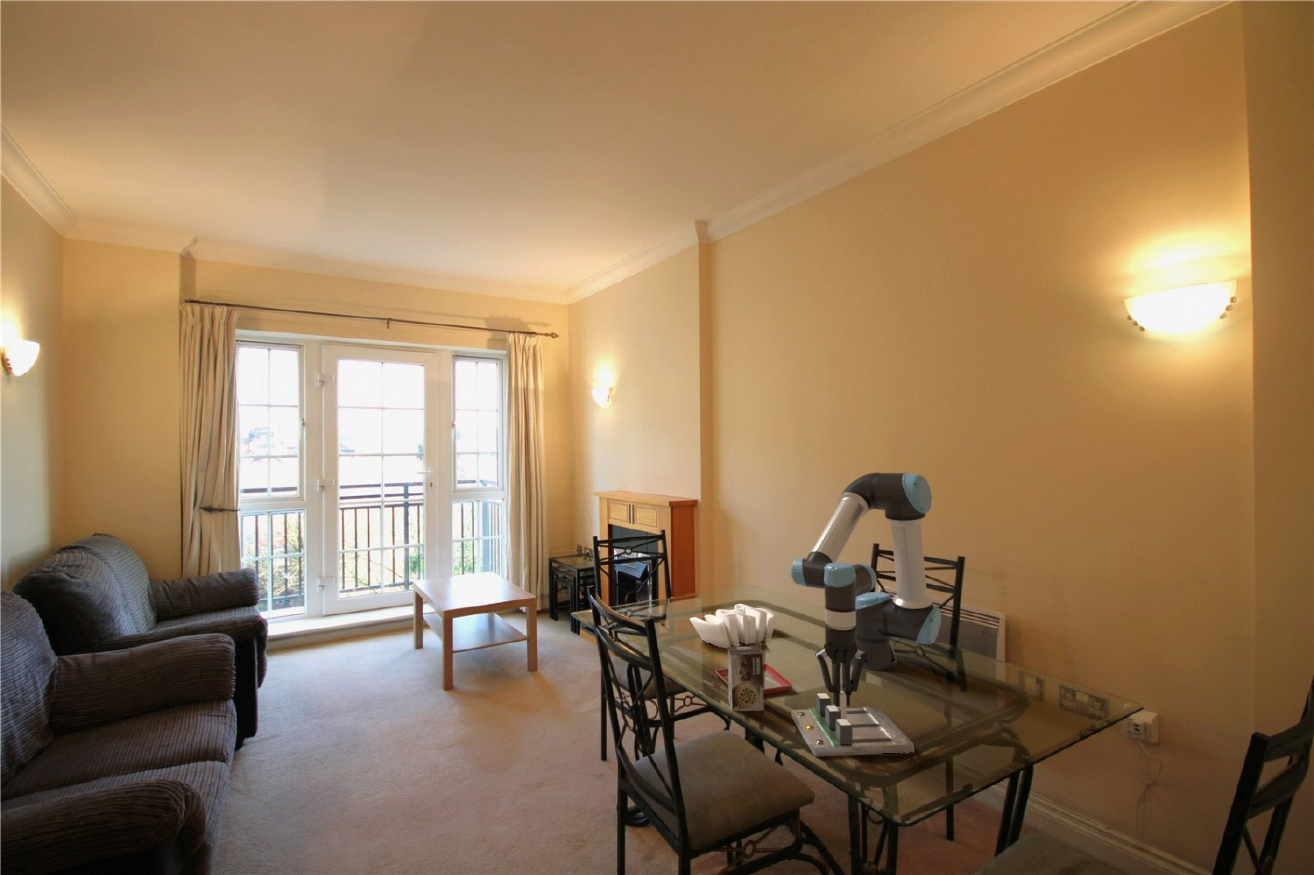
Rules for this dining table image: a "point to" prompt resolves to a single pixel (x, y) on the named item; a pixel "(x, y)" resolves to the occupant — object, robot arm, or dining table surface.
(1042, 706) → the dining table surface
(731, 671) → the coffee box
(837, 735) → the block
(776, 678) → the plant saucer
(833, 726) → the block
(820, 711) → the breaker
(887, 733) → the slider switch panel
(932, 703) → the dining table surface
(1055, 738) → the dining table surface
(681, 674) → the dining table surface
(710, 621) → the wavy white extrusion
